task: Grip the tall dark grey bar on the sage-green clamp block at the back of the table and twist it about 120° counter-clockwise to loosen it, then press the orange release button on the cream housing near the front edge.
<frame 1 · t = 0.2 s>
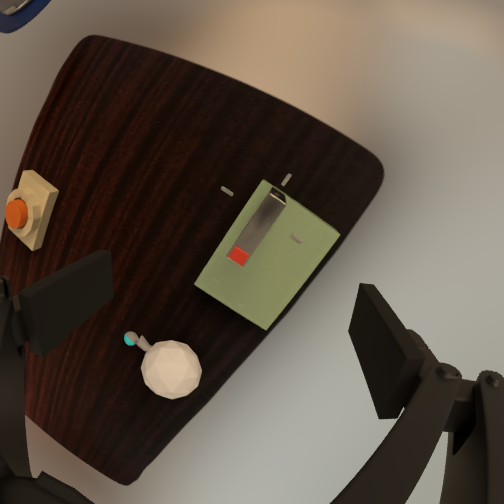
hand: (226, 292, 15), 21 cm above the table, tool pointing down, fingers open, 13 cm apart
clamp block: (266, 253, 36), on the table
perfume bottle: (168, 346, 41), on the table
release button: (16, 213, 33), point 4 cm above the table, slide at 0.1 cm
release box: (35, 208, 37), on the table
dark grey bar: (259, 221, 27), point 8 cm above the table, hinge at 0.0°
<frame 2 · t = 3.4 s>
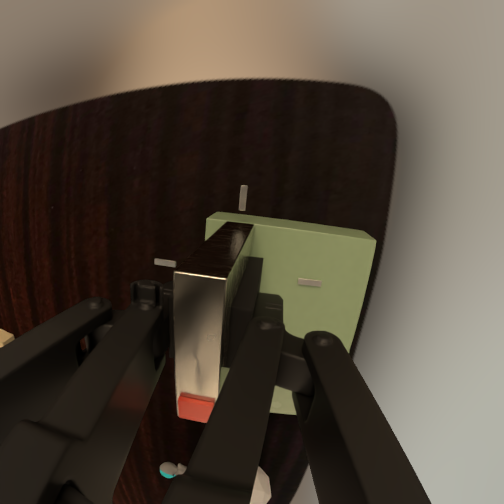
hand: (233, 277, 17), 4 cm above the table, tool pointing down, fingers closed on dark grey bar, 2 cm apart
clamp block: (277, 315, 22), on the table
perfume bottle: (219, 458, 27), on the table
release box: (8, 360, 28), on the table
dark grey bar: (221, 305, 14), point 8 cm above the table, hinge at 0.3°, touching gripper
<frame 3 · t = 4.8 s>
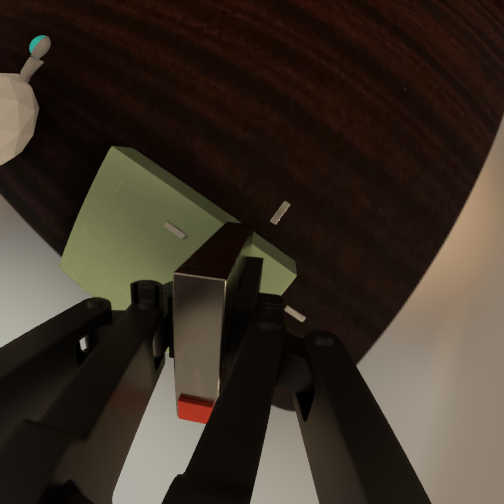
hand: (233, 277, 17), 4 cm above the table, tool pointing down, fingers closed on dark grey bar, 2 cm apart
clamp block: (173, 258, 21), on the table
perfume bottle: (35, 103, 19), on the table
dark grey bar: (221, 306, 14), point 8 cm above the table, hinge at 119.2°, touching gripper
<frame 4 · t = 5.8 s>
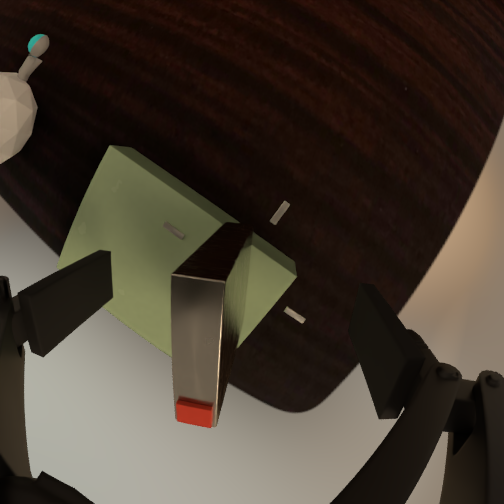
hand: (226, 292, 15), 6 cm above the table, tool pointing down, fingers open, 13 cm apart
clamp block: (171, 259, 21), on the table
perfume bottle: (34, 102, 19), on the table
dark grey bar: (220, 307, 13), point 8 cm above the table, hinge at 119.2°
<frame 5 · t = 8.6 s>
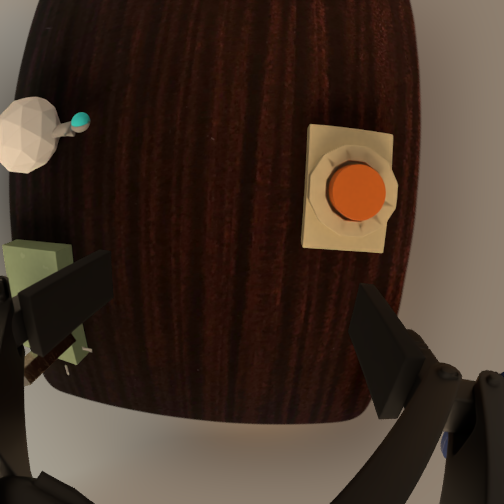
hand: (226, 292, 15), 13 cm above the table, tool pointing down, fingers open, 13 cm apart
clamp block: (49, 296, 31), on the table
perfume bottle: (61, 133, 26), on the table
release button: (356, 191, 21), point 4 cm above the table, slide at 0.1 cm
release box: (344, 188, 25), on the table
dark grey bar: (36, 360, 25), point 8 cm above the table, hinge at 119.2°
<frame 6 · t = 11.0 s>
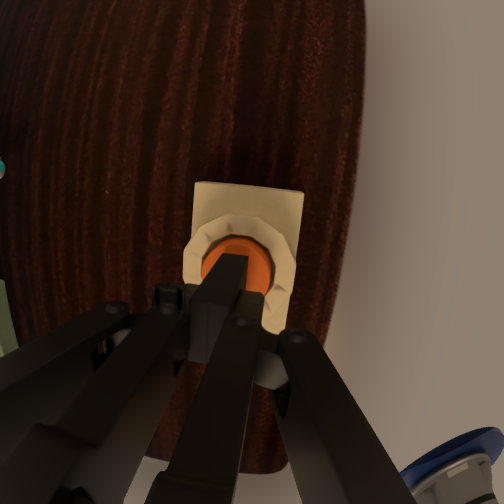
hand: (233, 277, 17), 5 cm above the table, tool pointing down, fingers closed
release button: (237, 272, 18), point 4 cm above the table, slide at -0.2 cm, touching gripper
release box: (245, 254, 22), on the table
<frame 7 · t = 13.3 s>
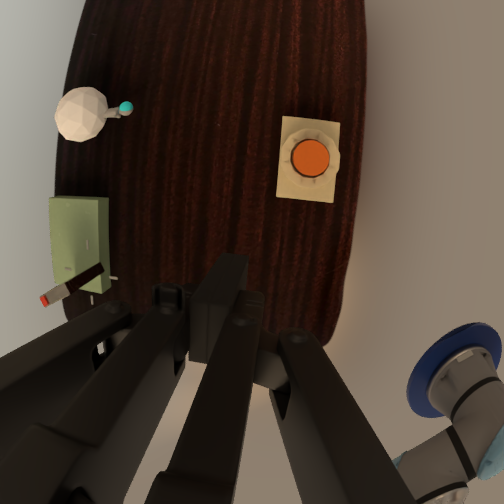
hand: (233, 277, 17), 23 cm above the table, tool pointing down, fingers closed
clamp block: (83, 240, 43), on the table
perfume bottle: (106, 115, 38), on the table
release button: (310, 158, 33), point 4 cm above the table, slide at 0.1 cm
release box: (307, 159, 37), on the table
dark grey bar: (72, 284, 36), point 8 cm above the table, hinge at 119.2°
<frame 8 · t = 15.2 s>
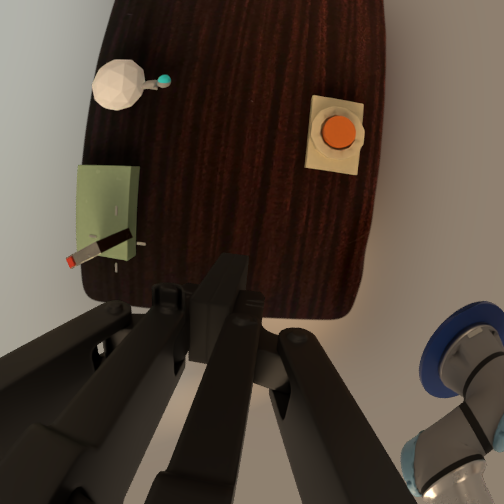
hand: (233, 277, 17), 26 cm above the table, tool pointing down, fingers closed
clamp block: (110, 209, 44), on the table
perfume bottle: (141, 89, 39), on the table
release button: (338, 132, 34), point 4 cm above the table, slide at 0.1 cm
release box: (333, 136, 39), on the table
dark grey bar: (100, 247, 38), point 8 cm above the table, hinge at 119.2°
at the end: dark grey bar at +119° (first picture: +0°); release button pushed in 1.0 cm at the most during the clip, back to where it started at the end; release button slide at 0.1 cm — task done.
